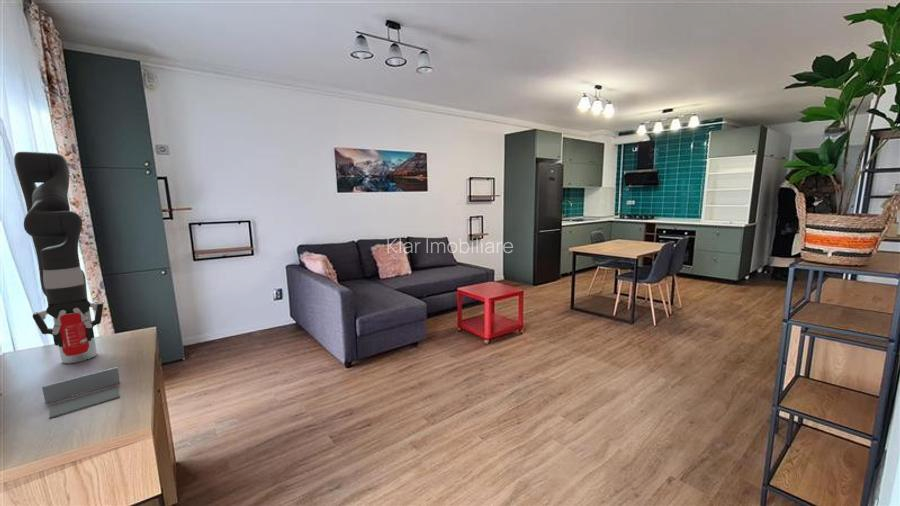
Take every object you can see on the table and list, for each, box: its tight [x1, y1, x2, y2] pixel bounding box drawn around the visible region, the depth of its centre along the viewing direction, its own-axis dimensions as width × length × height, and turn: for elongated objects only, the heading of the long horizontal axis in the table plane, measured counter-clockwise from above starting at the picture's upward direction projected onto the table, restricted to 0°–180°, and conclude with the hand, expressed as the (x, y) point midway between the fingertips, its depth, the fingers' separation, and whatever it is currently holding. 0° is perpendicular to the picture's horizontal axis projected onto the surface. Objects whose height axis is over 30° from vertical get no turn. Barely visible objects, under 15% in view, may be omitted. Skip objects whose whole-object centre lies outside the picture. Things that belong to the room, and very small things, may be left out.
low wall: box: [41, 366, 121, 404], centre depth 110 cm, size 1×16×5 cm, turn 137°
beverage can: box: [59, 312, 89, 356], centre depth 102 cm, size 5×5×12 cm
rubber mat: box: [48, 385, 121, 419], centre depth 105 cm, size 9×14×1 cm, turn 137°
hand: (75, 342), depth 102 cm, fingers closed on beverage can, 5 cm apart
